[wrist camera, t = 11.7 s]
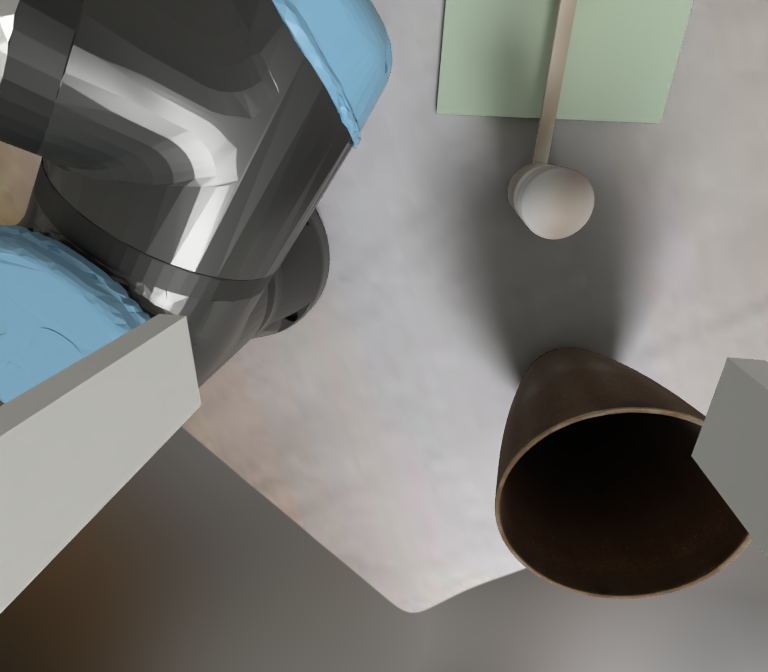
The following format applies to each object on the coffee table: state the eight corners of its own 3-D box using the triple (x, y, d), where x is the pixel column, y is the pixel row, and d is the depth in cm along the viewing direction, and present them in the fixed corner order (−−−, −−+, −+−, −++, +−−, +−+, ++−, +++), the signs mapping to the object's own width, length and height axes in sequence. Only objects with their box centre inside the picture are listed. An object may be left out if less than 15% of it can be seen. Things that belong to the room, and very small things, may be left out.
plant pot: (665, 433, 42) (775, 587, 27) (506, 463, 46) (528, 611, 31) (638, 287, 37) (753, 379, 22) (463, 335, 41) (465, 440, 27)
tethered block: (497, 214, 35) (508, 235, 27) (544, -111, 27) (580, -218, 19) (562, 219, 35) (594, 242, 26) (630, -112, 27) (704, -224, 19)
